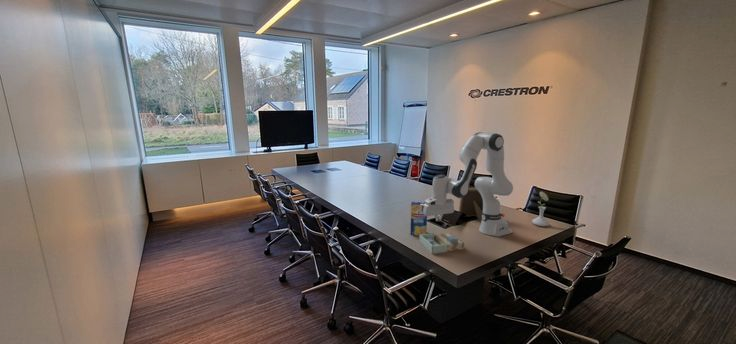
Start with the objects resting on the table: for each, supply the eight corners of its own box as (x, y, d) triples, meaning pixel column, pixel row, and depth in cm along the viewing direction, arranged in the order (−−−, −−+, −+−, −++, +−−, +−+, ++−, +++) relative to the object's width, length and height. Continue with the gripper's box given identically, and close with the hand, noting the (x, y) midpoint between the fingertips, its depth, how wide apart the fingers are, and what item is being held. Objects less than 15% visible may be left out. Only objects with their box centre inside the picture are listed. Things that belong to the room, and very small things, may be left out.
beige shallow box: (450, 238, 204) (450, 233, 203) (463, 248, 189) (464, 242, 188) (434, 240, 201) (434, 235, 200) (446, 251, 186) (446, 245, 185)
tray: (433, 240, 202) (433, 233, 201) (446, 252, 185) (447, 244, 184) (419, 241, 199) (419, 234, 198) (431, 254, 182) (432, 246, 181)
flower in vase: (551, 228, 221) (555, 195, 216) (534, 227, 223) (538, 194, 218) (544, 221, 233) (548, 190, 228) (528, 220, 236) (532, 189, 231)
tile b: (453, 239, 194) (453, 235, 193) (457, 242, 189) (458, 238, 188) (446, 240, 192) (446, 236, 192) (450, 243, 188) (450, 239, 187)
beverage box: (426, 236, 209) (427, 205, 204) (410, 234, 211) (411, 204, 207) (426, 232, 215) (427, 202, 211) (411, 230, 218) (411, 201, 213)
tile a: (423, 238, 197) (423, 242, 197) (426, 241, 192) (426, 245, 193) (430, 237, 198) (430, 241, 199) (433, 241, 193) (433, 244, 194)
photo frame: (458, 214, 251) (460, 185, 246) (485, 215, 249) (488, 185, 243) (462, 221, 237) (464, 190, 231) (490, 221, 234) (493, 190, 229)
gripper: (451, 197, 197) (450, 217, 200) (422, 200, 192) (421, 220, 195) (456, 199, 191) (455, 220, 194) (426, 203, 186) (426, 224, 189)
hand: (438, 220), depth 194 cm, fingers closed
